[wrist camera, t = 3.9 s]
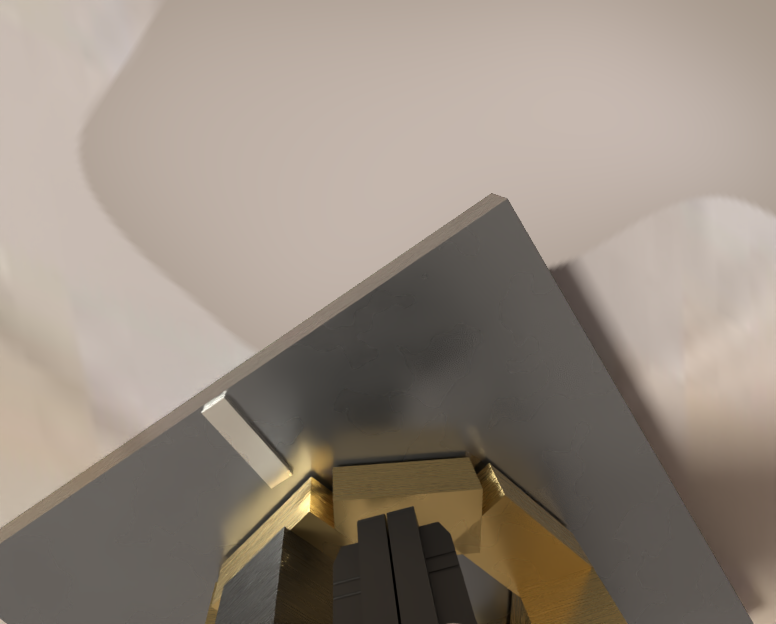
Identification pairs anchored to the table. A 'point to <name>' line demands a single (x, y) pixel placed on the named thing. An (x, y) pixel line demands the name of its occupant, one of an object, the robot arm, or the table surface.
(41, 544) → the base plate
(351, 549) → the robot arm
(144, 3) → the table surface
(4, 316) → the table surface
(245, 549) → the gold octagonal ring
